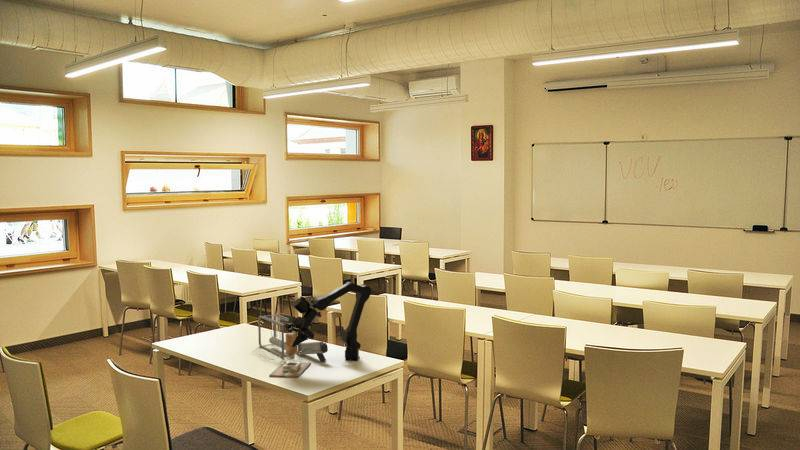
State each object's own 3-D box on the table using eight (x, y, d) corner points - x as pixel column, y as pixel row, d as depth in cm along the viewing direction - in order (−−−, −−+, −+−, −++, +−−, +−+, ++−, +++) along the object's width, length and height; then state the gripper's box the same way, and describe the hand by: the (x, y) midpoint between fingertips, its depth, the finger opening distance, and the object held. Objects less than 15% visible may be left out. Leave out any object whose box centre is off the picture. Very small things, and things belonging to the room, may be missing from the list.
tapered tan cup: (299, 356, 297) (298, 332, 296) (295, 360, 291) (295, 335, 290) (288, 356, 297) (287, 332, 297) (284, 359, 292) (283, 335, 291)
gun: (326, 361, 306) (323, 341, 307) (299, 362, 324) (296, 343, 325) (330, 360, 308) (327, 340, 309) (303, 361, 326) (300, 342, 327)
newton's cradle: (300, 355, 322) (299, 322, 321) (282, 358, 316) (281, 324, 315) (275, 343, 346) (275, 312, 345) (258, 346, 340) (257, 315, 338)
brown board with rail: (311, 364, 305) (311, 357, 305) (298, 377, 284) (298, 370, 283) (284, 363, 307) (284, 356, 307) (269, 376, 286) (269, 369, 285)
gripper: (286, 306, 302) (268, 332, 295) (309, 312, 289) (290, 339, 282) (300, 319, 308) (282, 345, 301) (322, 325, 295) (304, 352, 288)
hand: (289, 345), depth 293 cm, fingers closed on tapered tan cup, 6 cm apart
